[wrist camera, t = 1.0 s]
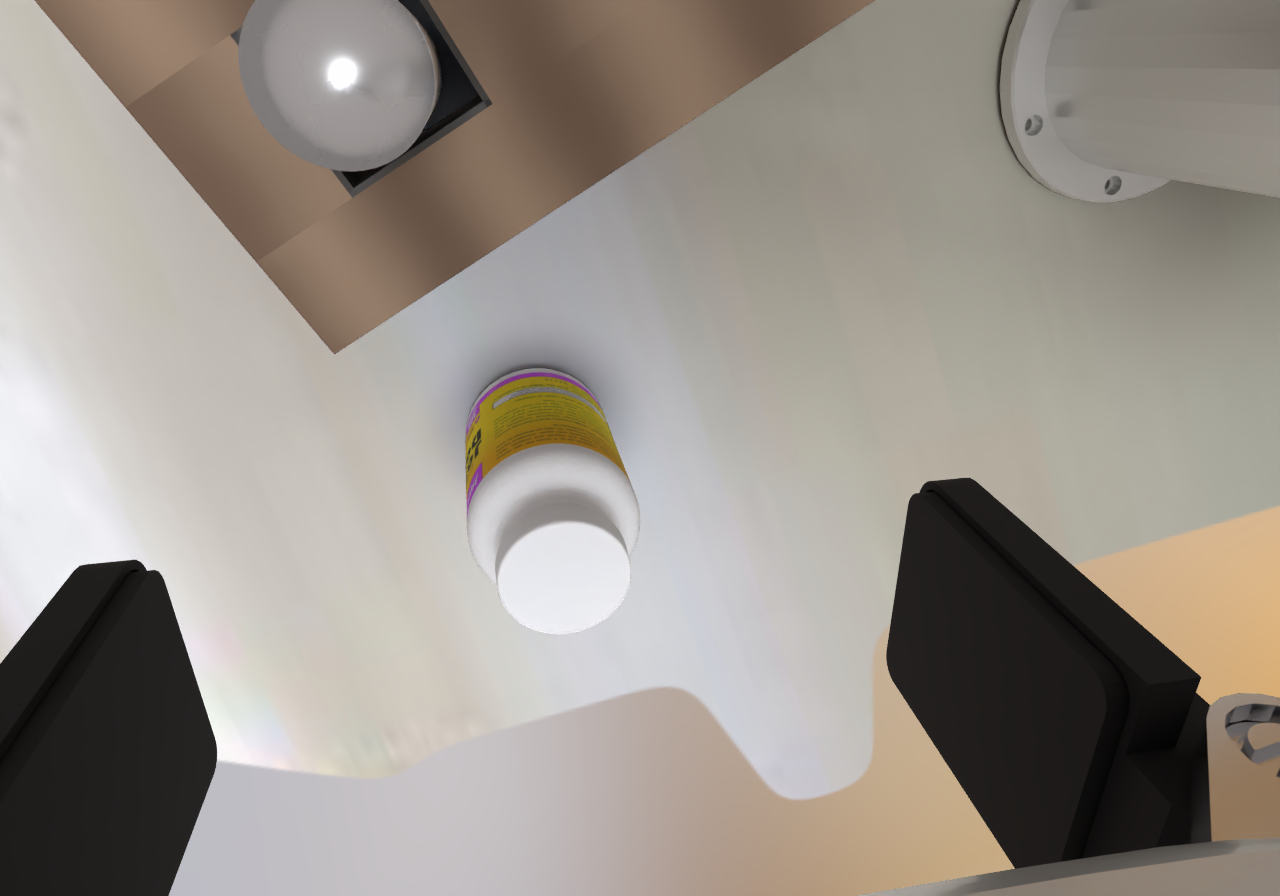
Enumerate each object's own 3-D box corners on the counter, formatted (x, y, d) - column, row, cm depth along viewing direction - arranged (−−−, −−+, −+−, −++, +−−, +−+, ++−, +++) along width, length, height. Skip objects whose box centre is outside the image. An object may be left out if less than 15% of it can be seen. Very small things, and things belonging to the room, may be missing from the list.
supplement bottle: (455, 372, 38) (453, 508, 26) (598, 355, 39) (656, 480, 27) (475, 499, 40) (481, 671, 29) (608, 481, 41) (663, 640, 30)
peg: (388, -32, 25) (353, -74, 17) (467, 93, 26) (471, 108, 18) (280, 44, 25) (195, 37, 17) (365, 162, 27) (325, 206, 19)
